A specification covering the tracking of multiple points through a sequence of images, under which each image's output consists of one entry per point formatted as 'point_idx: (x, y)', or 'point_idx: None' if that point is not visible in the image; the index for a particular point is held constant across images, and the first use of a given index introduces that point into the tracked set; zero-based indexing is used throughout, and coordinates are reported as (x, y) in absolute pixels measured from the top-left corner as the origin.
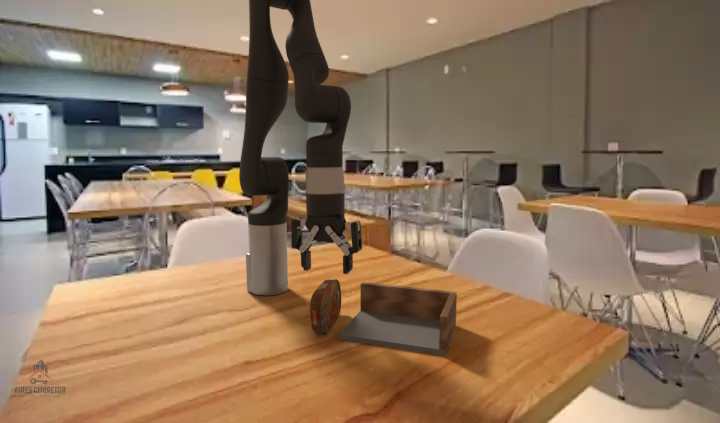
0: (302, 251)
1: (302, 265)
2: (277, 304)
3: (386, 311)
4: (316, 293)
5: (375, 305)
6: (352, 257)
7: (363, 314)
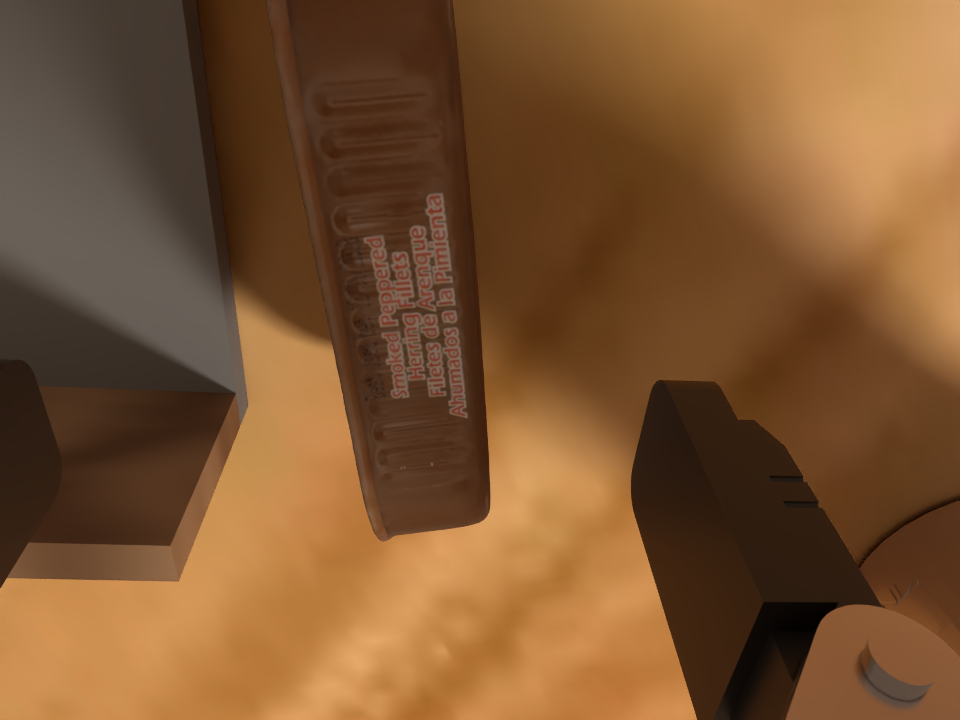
0: (864, 626)
1: (756, 441)
2: (870, 396)
3: None
4: (395, 36)
5: (99, 421)
6: None
7: (181, 337)
